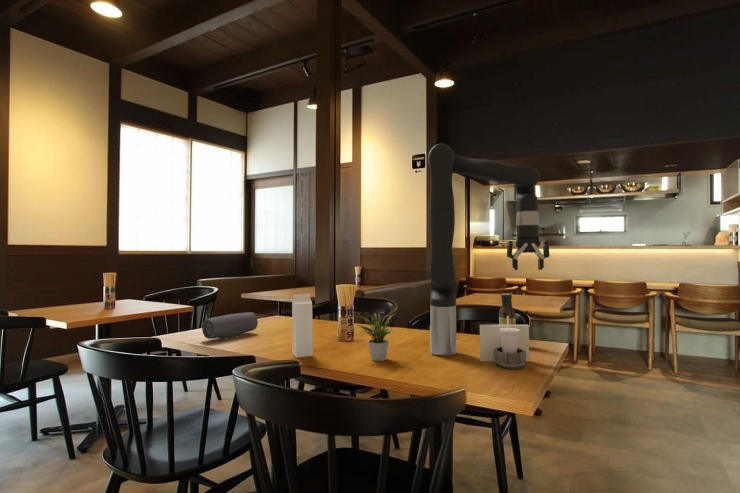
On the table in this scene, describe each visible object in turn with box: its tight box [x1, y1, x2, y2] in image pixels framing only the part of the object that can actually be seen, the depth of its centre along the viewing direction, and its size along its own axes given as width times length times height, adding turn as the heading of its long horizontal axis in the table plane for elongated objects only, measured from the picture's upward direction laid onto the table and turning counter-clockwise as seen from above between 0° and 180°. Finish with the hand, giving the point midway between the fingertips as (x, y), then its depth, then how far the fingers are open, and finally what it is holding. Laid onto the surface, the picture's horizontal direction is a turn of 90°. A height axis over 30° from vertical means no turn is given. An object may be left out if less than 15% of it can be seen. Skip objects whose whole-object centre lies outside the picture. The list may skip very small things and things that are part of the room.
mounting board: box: [479, 324, 530, 362], centre depth 142 cm, size 16×1×12 cm, turn 87°
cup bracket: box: [494, 347, 527, 371], centre depth 136 cm, size 9×10×5 cm
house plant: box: [356, 312, 396, 362], centre depth 146 cm, size 14×14×16 cm
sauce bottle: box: [498, 293, 517, 325], centre depth 166 cm, size 6×6×20 cm
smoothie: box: [499, 316, 520, 353], centre depth 136 cm, size 6×6×14 cm
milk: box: [291, 293, 314, 359], centre depth 152 cm, size 6×6×22 cm
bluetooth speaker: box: [202, 311, 259, 340], centre depth 184 cm, size 23×9×10 cm, turn 145°
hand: (528, 269), depth 150 cm, fingers open, 8 cm apart
